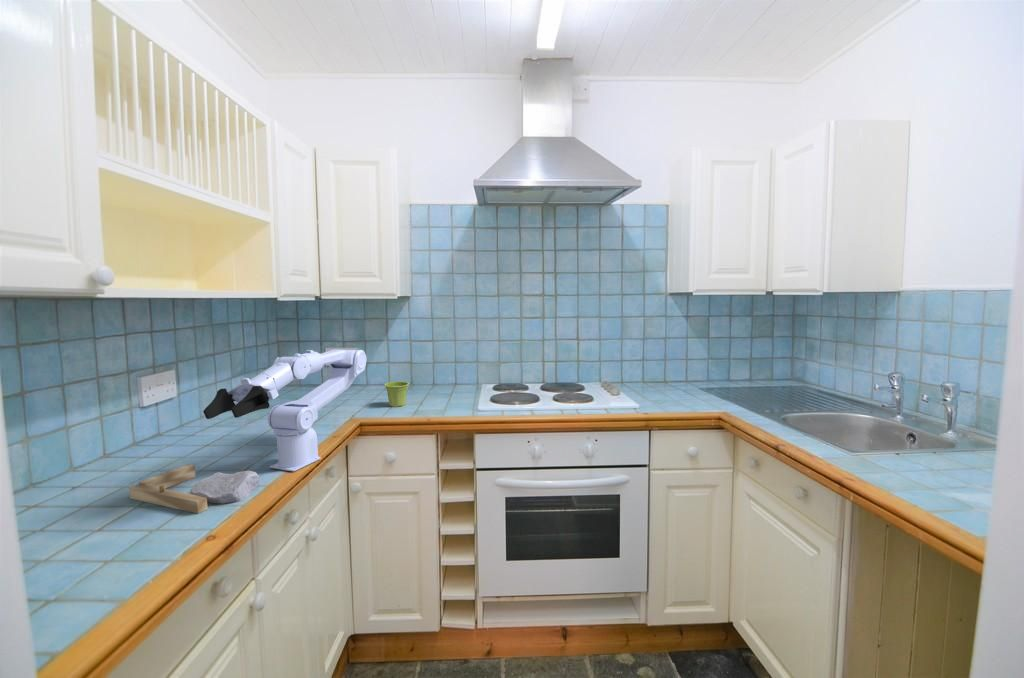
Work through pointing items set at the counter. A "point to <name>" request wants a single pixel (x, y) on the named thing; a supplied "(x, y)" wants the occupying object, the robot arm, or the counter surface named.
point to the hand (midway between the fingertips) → (219, 414)
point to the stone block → (226, 487)
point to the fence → (169, 491)
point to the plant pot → (397, 393)
